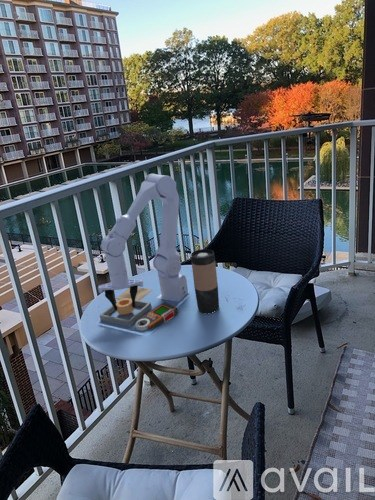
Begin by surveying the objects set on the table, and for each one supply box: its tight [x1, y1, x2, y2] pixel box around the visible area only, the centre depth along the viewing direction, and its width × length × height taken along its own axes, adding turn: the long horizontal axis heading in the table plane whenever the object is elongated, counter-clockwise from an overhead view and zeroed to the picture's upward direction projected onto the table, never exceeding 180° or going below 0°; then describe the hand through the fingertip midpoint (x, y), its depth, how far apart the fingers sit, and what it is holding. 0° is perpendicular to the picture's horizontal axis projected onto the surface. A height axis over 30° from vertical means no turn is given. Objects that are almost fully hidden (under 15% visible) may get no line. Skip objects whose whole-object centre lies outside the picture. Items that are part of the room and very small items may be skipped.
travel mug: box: [190, 248, 220, 315], centre depth 120 cm, size 8×8×20 cm
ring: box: [116, 298, 135, 316], centre depth 125 cm, size 7×6×3 cm
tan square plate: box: [115, 286, 153, 301], centre depth 137 cm, size 10×10×4 cm
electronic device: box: [134, 301, 179, 332], centre depth 120 cm, size 7×3×15 cm
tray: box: [99, 298, 153, 328], centre depth 125 cm, size 12×12×2 cm
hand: (125, 307), depth 124 cm, fingers closed on ring, 5 cm apart
